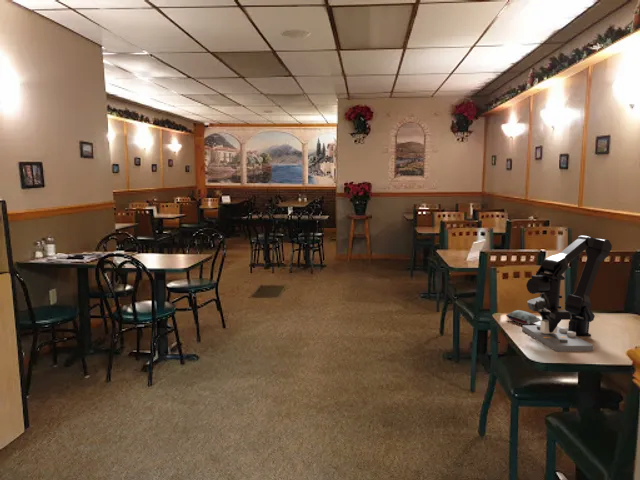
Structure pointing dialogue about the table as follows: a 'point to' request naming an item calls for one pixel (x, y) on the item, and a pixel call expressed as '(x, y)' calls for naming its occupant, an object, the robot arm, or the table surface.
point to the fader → (546, 327)
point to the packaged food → (523, 317)
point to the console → (558, 339)
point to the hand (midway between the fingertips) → (548, 330)
